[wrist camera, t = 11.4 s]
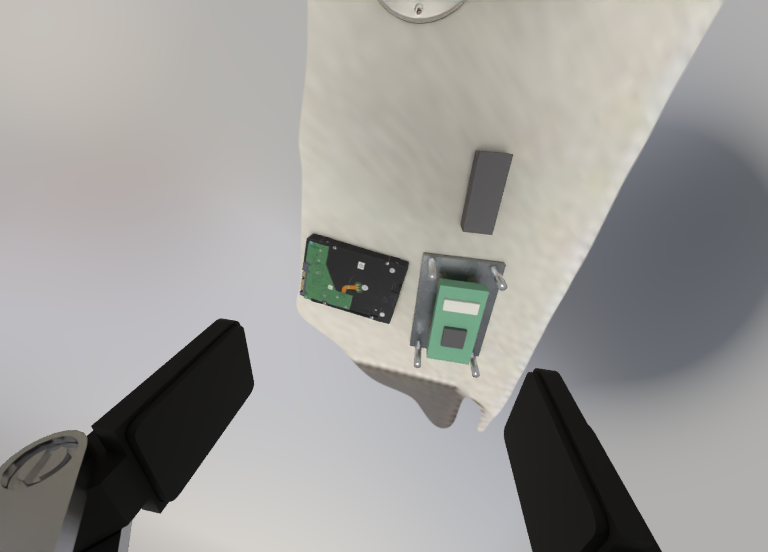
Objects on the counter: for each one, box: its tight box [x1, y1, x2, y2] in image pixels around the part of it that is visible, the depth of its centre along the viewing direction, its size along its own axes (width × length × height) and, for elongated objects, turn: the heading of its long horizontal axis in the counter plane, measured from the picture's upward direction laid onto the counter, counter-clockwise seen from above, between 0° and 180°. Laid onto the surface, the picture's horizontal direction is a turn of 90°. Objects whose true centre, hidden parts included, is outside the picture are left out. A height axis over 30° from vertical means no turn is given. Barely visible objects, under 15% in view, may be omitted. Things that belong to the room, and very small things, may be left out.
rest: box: [461, 151, 513, 235], centre depth 33 cm, size 9×4×3 cm, turn 175°
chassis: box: [410, 253, 507, 378], centre depth 39 cm, size 16×11×6 cm
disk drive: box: [300, 234, 409, 324], centre depth 42 cm, size 10×3×15 cm
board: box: [427, 278, 489, 365], centre depth 38 cm, size 12×6×3 cm, turn 175°
